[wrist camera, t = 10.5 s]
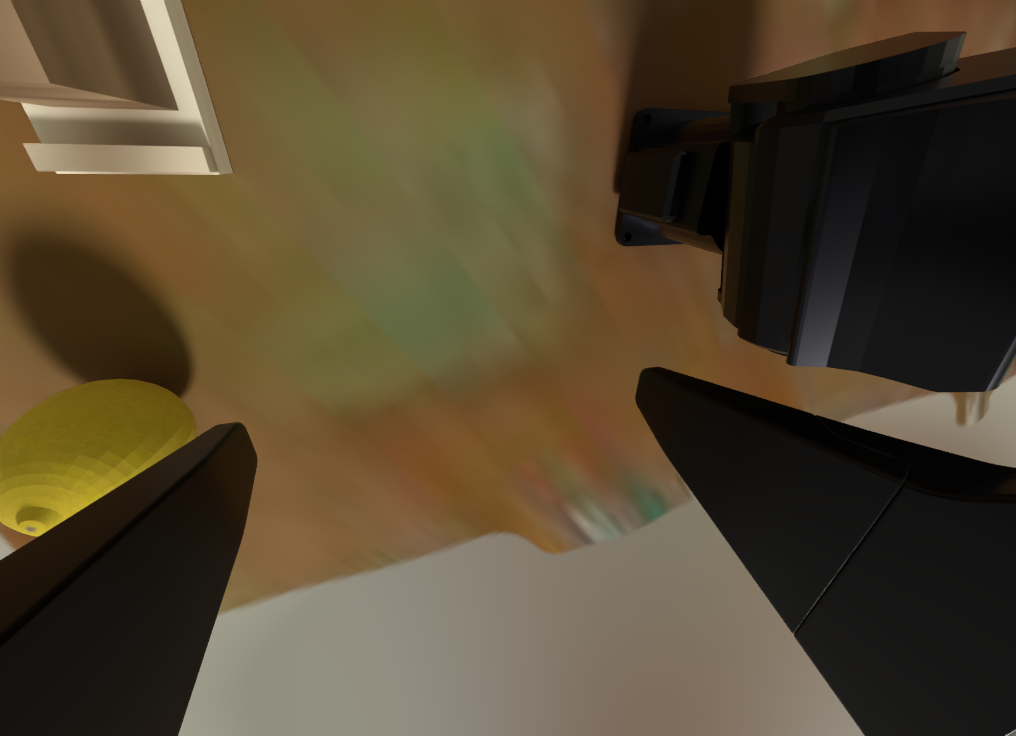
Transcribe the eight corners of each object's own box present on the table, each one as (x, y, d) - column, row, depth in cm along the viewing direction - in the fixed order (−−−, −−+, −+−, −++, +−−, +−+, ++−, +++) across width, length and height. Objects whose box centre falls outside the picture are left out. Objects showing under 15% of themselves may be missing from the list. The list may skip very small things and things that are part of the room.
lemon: (52, 373, 17) (-161, 509, 11) (175, 334, 18) (46, 440, 11) (141, 455, 20) (18, 603, 14) (244, 420, 21) (175, 545, 14)
